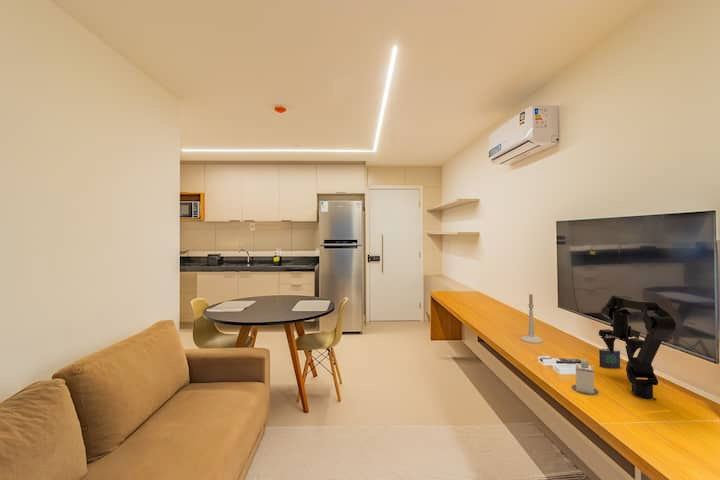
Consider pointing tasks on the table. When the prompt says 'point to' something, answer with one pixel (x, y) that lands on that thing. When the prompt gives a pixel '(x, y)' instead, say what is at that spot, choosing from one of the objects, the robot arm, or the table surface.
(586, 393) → the gray disc
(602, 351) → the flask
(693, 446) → the table surface
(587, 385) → the rubber stamp
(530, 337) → the candlestick
